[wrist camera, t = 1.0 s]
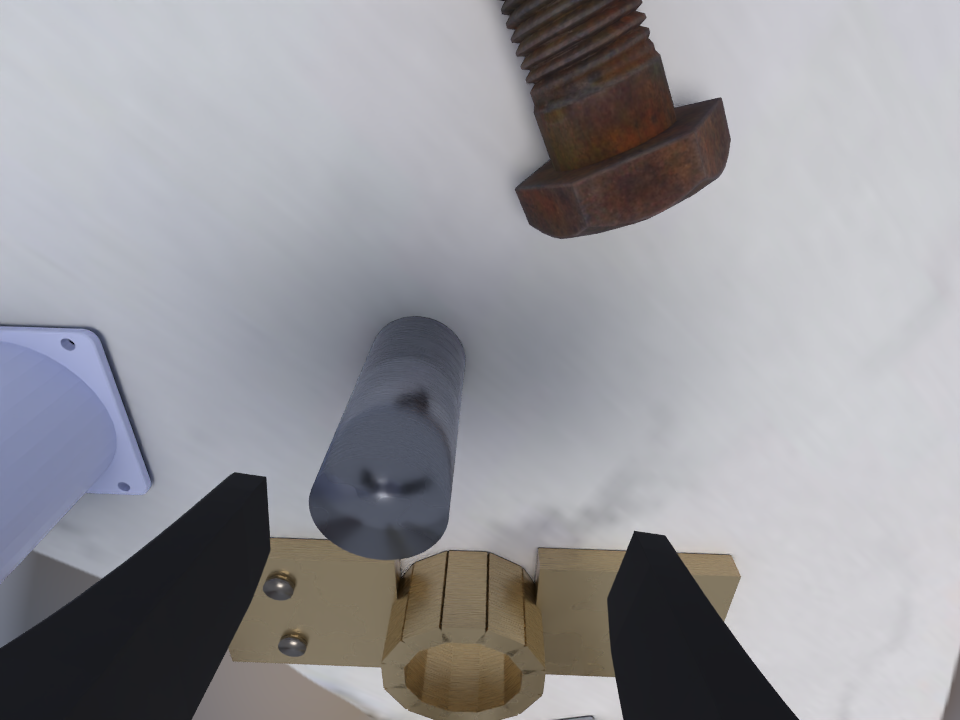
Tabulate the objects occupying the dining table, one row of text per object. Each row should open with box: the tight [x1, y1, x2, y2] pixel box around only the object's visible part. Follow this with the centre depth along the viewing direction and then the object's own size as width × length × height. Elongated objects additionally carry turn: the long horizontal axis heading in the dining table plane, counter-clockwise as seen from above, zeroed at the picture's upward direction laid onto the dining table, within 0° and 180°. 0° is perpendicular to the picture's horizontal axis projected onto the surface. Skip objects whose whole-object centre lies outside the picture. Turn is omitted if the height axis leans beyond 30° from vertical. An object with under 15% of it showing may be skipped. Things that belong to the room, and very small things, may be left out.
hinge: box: [228, 538, 741, 720], centre depth 26 cm, size 25×8×4 cm, turn 89°
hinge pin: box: [309, 316, 465, 560], centre depth 18 cm, size 4×4×8 cm
